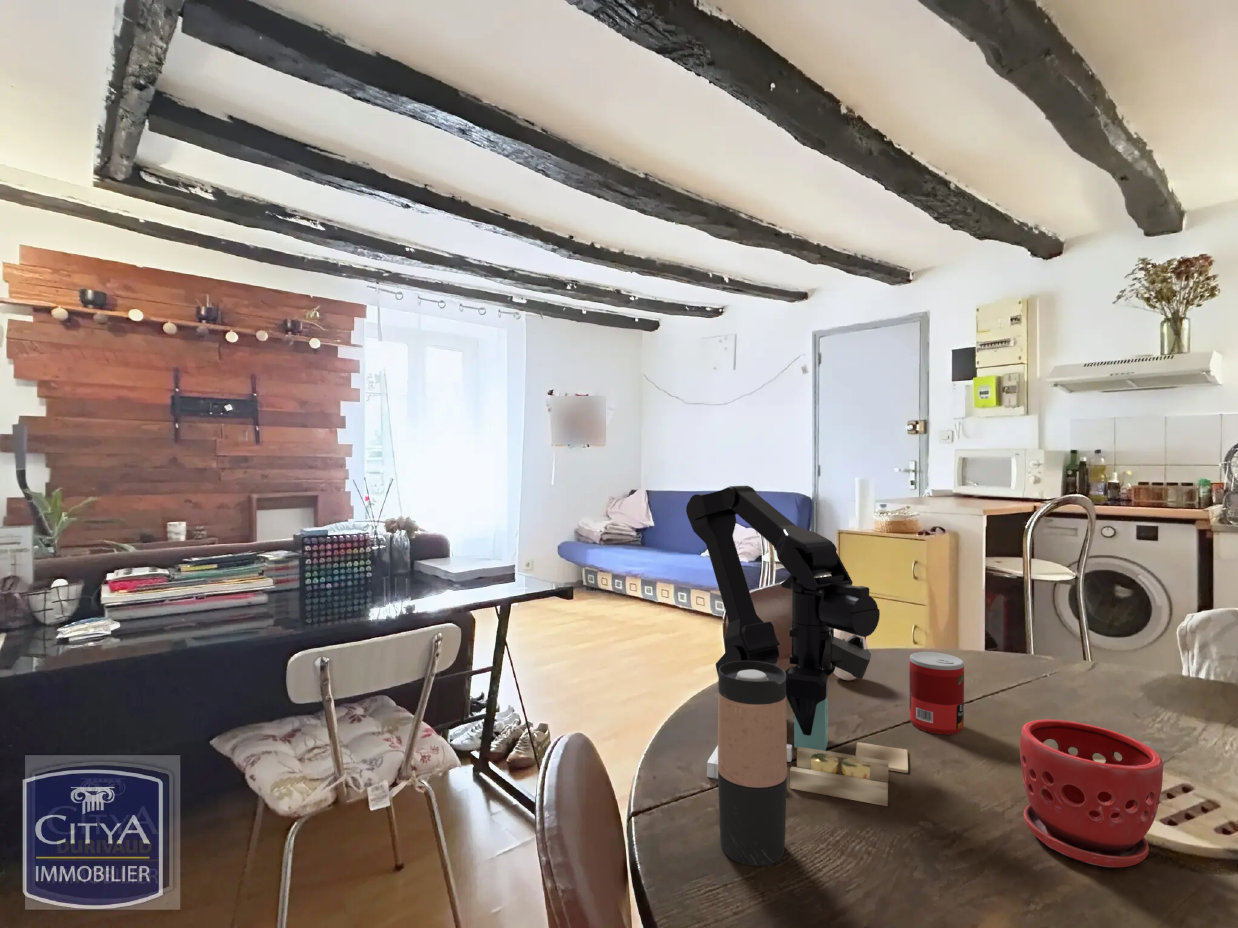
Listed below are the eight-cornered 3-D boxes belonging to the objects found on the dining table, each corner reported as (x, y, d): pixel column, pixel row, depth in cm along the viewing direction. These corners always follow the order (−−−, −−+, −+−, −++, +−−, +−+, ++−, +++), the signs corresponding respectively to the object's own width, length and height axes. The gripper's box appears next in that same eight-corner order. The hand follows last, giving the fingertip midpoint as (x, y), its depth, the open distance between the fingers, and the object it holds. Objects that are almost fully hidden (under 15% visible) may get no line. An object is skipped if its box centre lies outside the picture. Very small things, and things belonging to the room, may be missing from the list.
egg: (838, 670, 136) (838, 614, 136) (875, 679, 131) (875, 621, 130) (817, 679, 131) (817, 621, 131) (855, 689, 125) (855, 629, 125)
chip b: (840, 790, 88) (840, 767, 88) (842, 778, 91) (842, 756, 91) (869, 795, 86) (869, 772, 86) (870, 782, 90) (870, 760, 90)
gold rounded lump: (809, 784, 89) (809, 762, 89) (812, 772, 93) (812, 751, 93) (837, 789, 88) (837, 767, 88) (839, 777, 91) (839, 755, 91)
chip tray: (707, 776, 91) (707, 762, 91) (724, 747, 101) (724, 733, 101) (781, 790, 88) (781, 775, 88) (792, 758, 97) (792, 744, 97)
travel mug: (711, 829, 79) (710, 660, 78) (774, 826, 79) (774, 659, 79) (727, 869, 71) (726, 683, 71) (797, 865, 72) (797, 680, 71)
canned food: (970, 737, 104) (970, 667, 104) (915, 733, 106) (915, 664, 105) (955, 718, 111) (955, 652, 111) (904, 714, 113) (905, 650, 113)
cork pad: (854, 764, 95) (854, 761, 95) (857, 744, 101) (857, 741, 101) (908, 773, 92) (908, 770, 92) (907, 752, 99) (907, 749, 99)
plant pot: (1114, 894, 67) (1115, 775, 67) (994, 827, 79) (994, 726, 79) (1189, 862, 72) (1190, 752, 72) (1065, 804, 84) (1066, 709, 84)
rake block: (794, 747, 101) (794, 688, 100) (797, 736, 104) (797, 679, 104) (825, 752, 99) (825, 692, 99) (827, 741, 103) (827, 683, 102)
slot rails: (790, 788, 88) (790, 770, 88) (798, 762, 95) (798, 746, 95) (887, 806, 84) (887, 787, 84) (888, 778, 91) (888, 760, 91)
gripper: (864, 642, 90) (864, 757, 90) (869, 612, 107) (869, 709, 107) (780, 634, 94) (780, 744, 94) (798, 606, 111) (798, 699, 111)
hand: (810, 723), depth 102 cm, fingers open, 9 cm apart
